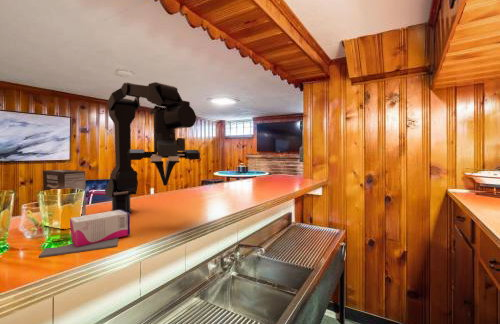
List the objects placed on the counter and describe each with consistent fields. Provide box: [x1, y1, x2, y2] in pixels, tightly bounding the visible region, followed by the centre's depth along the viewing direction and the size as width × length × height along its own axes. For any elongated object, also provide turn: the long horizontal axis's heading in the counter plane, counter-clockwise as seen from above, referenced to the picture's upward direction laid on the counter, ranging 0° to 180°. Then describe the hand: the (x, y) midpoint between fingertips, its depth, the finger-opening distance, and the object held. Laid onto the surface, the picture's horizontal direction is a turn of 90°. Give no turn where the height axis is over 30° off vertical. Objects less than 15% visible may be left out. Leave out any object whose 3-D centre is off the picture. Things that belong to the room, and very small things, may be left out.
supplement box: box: [70, 210, 131, 247], centre depth 60 cm, size 6×6×12 cm
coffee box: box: [42, 169, 87, 216], centre depth 70 cm, size 9×6×16 cm
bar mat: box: [38, 237, 120, 259], centre depth 60 cm, size 16×14×1 cm
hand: (165, 185), depth 69 cm, fingers closed
